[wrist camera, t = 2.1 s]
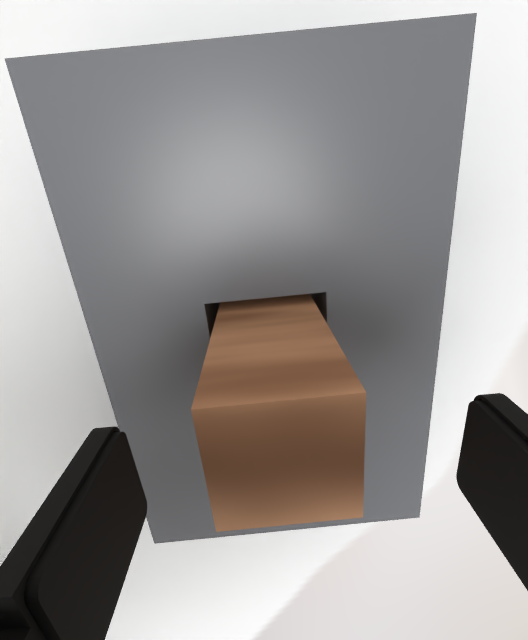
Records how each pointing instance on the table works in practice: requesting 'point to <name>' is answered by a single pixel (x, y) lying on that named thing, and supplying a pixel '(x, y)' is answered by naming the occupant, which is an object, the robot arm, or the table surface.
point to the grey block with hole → (257, 223)
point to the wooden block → (279, 417)
